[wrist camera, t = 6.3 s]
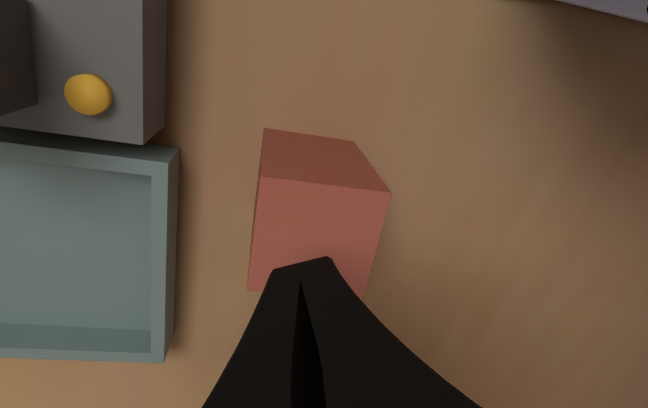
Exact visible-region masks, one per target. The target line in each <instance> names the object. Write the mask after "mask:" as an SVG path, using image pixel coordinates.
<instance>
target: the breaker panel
mask: <svg viewBox="0 0 648 408" xmlns="http://www.w3.org/2000/svg"><path fill="white" fill-rule="evenodd" d="M27 5H28V14H29V23H30V32H31V41H32V50H33V59H34V68H35V76H36V85H37V94H38V103H39V104H37V105H34V106H30V107H27V108H24V109H21V110H18V111H14V112H11V113H8V114H5V115H2V116H0V126H4V127H11V128H19V129H26V130H34V131H41V132H49V133H56V134H64V135H71V136H78V137H86V138H93V139H101V140H108V141H116V142H123V143H131V144H138V145H144V144H145V143H146V142H147V141H148V140H149V139H151V138H152V137H153V136H154V135H155V134H156V133H157V132H158V131H160V130H161V129H162V128H163V127H164V126H165V112H166V55H167V0H27Z"/></svg>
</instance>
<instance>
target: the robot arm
mask: <svg viewBox="0 0 648 408" xmlns="http://www.w3.org/2000/svg"><path fill="white" fill-rule="evenodd" d="M556 1H560V2H564V3H568V4H572V5H576V6H580V7H584V8H588V9H592V10H596V11H600V12H604V13H608V14H612V15H616V16H620V17H624V18H628V19H632V20H636V21H640V22H644V23H648V12H647V11H646V9H647V6H648V0H556ZM202 408H482V407H480V406H479V405H477V404H476V403H475V402H473V401H472V400H471V399H469V398H468V397H467V396H465V395H464V394H463V393H461V392H460V391H459V390H458V389H456V388H455V387H454V386H452V385H451V384H450V383H449V382H447V381H446V380H445V379H443V378H442V377H441V376H440V375H439V374H437V373H436V372H435V371H434V370H433V369H431V368H430V367H429V366H428V365H427V364H425V363H424V362H423V361H422V360H421V359H419V358H418V357H417V356H416V355H415V354H414V353H413V352H412V351H410V350H409V349H408V348H407V347H406V346H405V345H404V344H403V343H402V342H401V341H400V340H399V339H398V338H397V337H395V336H394V335H393V334H392V333H391V332H390V331H389V330H388V329H387V328H386V327H385V326H384V325H383V324H382V323H381V322H380V321H379V320H378V319H377V317H376V316H375V315H374V314H373V313H372V312H371V311H370V310H369V309H368V308H367V306H366V305H365V304H364V303H363V302H362V301H361V300H360V299H359V297H358V296H357V295H356V294H355V293H354V291H353V290H352V289H351V288H350V286H349V285H348V284H347V282H346V281H345V280H344V278H343V277H342V275H341V274H340V272H339V271H338V269H337V267H336V266H335V264H334V262H333V259H332V258H330V257H328V256H324V257H320V258H316V259H312V260H308V261H304V262H300V263H296V264H292V265H288V266H284V267H280V268H276V269H273V270H272V272H271V273H270V275H269V277H268V280H267V283H266V285H265V288H264V290H263V292H262V295H261V297H260V300H259V302H258V304H257V306H256V308H255V311H254V313H253V315H252V317H251V319H250V321H249V323H248V325H247V327H246V329H245V332H244V334H243V336H242V338H241V340H240V342H239V344H238V346H237V348H236V349H235V351H234V353H233V355H232V357H231V358H230V360H229V362H228V364H227V366H226V367H225V369H224V371H223V373H222V374H221V376H220V378H219V380H218V382H217V383H216V385H215V387H214V388H213V390H212V392H211V393H210V395H209V397H208V398H207V400H206V402H205V403H204V405H203V406H202Z"/></svg>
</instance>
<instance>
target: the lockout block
mask: <svg viewBox="0 0 648 408" xmlns="http://www.w3.org/2000/svg"><path fill="white" fill-rule="evenodd" d="M391 195H392V192H391V191H390V190H389V188H388V187H387V186H386V184H385V183H384V182H383V180H382V179H381V178H380V176H379V175H378V173H377V172H376V171H375V169H374V168H373V167H372V165H371V164H370V163H369V161H368V160H367V159H366V157H365V156H364V155H363V153H362V152H361V151H360V149H359V148H358V147H357V145H356V144H355V142H354V141H348V140H341V139H335V138H328V137H321V136H315V135H308V134H301V133H295V132H288V131H281V130H275V129H268V128H264V132H263V141H262V149H261V157H260V166H259V174H258V182H257V191H256V199H255V207H254V217H253V227H252V238H251V248H250V259H249V269H248V280H247V290H250V291H263V290H264V288H265V285H266V283H267V280H268V277H269V275H270V273H271V272H272V270H273V269H276V268H280V267H284V266H288V265H292V264H296V263H300V262H304V261H308V260H312V259H316V258H320V257H324V256H328V257H330V258H332V259H333V262H334V264H335V266H336V267H337V269H338V271H339V272H340V274H341V275H342V277H343V278H344V280H345V281H346V282H347V284H348V285H349V286H350V288H351V289H352V290H353V291H354V293H355V294H356V295H357V296H358V297H359V298H364V294H365V290H366V287H367V283H368V279H369V276H370V272H371V268H372V265H373V261H374V257H375V254H376V250H377V246H378V243H379V239H380V235H381V232H382V228H383V224H384V221H385V217H386V213H387V210H388V206H389V202H390V199H391Z"/></svg>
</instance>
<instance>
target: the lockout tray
mask: <svg viewBox="0 0 648 408" xmlns="http://www.w3.org/2000/svg"><path fill="white" fill-rule="evenodd" d="M179 157H180V148H173V147H166V146H159V145H151V144H144V145H138V144H131V143H123V142H116V141H108V140H101V139H93V138H86V137H78V136H71V135H64V134H56V133H49V132H41V131H34V130H26V129H19V128H11V127H4V126H0V358H23V359H53V360H83V361H113V362H143V363H164V361H165V358H166V355H167V352H168V349H169V346H170V343H171V340H172V337H173V334H174V306H175V276H176V246H177V216H178V186H179Z"/></svg>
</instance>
